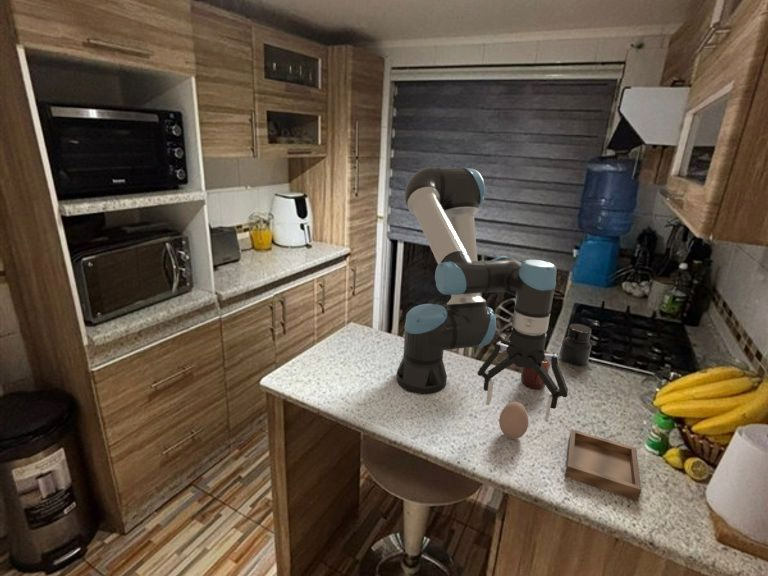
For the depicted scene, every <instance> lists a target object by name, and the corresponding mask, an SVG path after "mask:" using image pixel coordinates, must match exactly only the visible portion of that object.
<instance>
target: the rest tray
mask: <svg viewBox="0 0 768 576" xmlns="http://www.w3.org/2000/svg"><path fill="white" fill-rule="evenodd" d="M637 452H638V451H637V447H634V446H632V445H627V444H623V443H620V442H618V441H613V440H609V439H606V438H603V437H599V436H597V435H592V434H589V433H587V432H582V431H579V430H577V429H573V428H571V429H570V433H569V438H568V444H567V454H566V455H567V456H566V465H565V474H564V477H565V478H567V479H570V480H573V481H576V482H578V483H582V484H584V485H587V486H591V487H594V488H596V489H600V490H602V491H603V490H604V491H606V492H609V493H612V494H614V495H617V496H621V497H623V498H627V499H629V500H633V501H637V502H639V499H640V497H641V493H642V484H641V477H640V467H639V460H638V453H637Z"/></svg>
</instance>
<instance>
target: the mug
mask: <svg viewBox="0 0 768 576" xmlns="http://www.w3.org/2000/svg"><path fill="white" fill-rule="evenodd" d="M544 352H545V353H546V354H552V353H551V352H549V351H547V350H545V349H544ZM541 363H542V364H543V367H544V368H545V370H546V371H547V373H548V374H549V370H550V366H551V364H549V363H548V361H547V360H546V359H544V360H543V361H542V362H541ZM521 368H522V370H521V372H520V373H521V374H520V382H521V384H522V385H523V386H524V387H525V388H527V389H529V390H532V391H540V390H543V389H544V388H545V387H546V385H545V384H544V382H543V381H542V379H541V378H540V376H539V375H538V374H537V373H536V372H535V370H534V369H533V368H532V369H526V368H524V367H521Z"/></svg>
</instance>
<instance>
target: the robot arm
mask: <svg viewBox="0 0 768 576" xmlns="http://www.w3.org/2000/svg"><path fill="white" fill-rule="evenodd" d="M484 181H485V180H484V178H483V176H482V175H481V173H480V172H479V171H478V170H477V169H474V168H467V167H463V166H462V167H461V166H460V167H435V166H433V167H432V166H431V167H430V166H429V167H425V168H422V169H420V170H418V171H416V172H415V173H414V174H413V175H412V176H411V177H410V179H409V180H408V181H407V183H406V187H405V189H404V201H405V204H406V207H407V210H408V211H409V213H411V215H413V216H415V217H416V220H417V223H418V224H419V226H420V228H421V230H422V233H423V235H424V238H425V239H426V241H427V243H428V246H429V248H430V250H431V252H432V253H433V256H434V259H435V261H436V263H437V266H436V269H435V272H434V273H435V274H434V281H435V287H436V289H437V291H439V293H440V294H442V295H450V300H449V301H448V302H447V303H446V307H445V306H443V305H441V304H436V303H434V304H433V303H423V304H419V305H415V306H413V307H412V308H410V309H409V311H407V313H406V316H405V322H404V341H403V356H402V359H401V361H400V363H399V365H398V368H397V370H396V377H395V378H396V383H397V384H398V386H399V387H400V388H402V389H403V390H405V391H407V392H409V393H411V394H412V393H413V394H418V395H431V394H432V395H433V394H437V393H440V392H441V391H442V390H444V389H445V388H446V386H447V381H448V380H447V379H448V377H447V371H446V368H445V367H446V366H445V364H444V363H445V362H444V360H443V358H444V351H448V350H457V349H466V348H467V349H468V348H474V349H475V348H478V347H484V346H487V345H488V344H490V343H491V342H492V340H493V338H494V337H495V334H496V330H497V318H496V314H494V313H495V312H494V310H493V308H491V307H489V306H487V301H486V299H484V297H482V295H481V293H482V294H483V293H485V294H486V293H487V294H488V293H500V292H501V293H504V292H505V293H506V292H507V293H508V294H510V295H511V296H513V297H515V301H514V302H515V304H514V312H513V318H512V327H511V332H510V340H509V344H504V343H503V342H502V341H501V340H497V342H496V344H495V345H494V348H493V351H492V352H491V354H490V355H489V356H488V357H487V359H486V360H485V361H484V362H483V364H482V365H481V366H480V368H479V369H478V371H477V375H478V377H479V376H480V377H482V378H484V381H483V391H485V392H487V395H486V401H485V405H486V406H490V405H491V401H492V399H493V398H492V397H493V390H494V382H495V376H496V375H498V374H499V373H500V372H502V371H504V370H505V369H507V368H508V367H511V366H512V365H515V366H516V367H518V368H523V367H524V368H526V369H532V368H533V369H534V370H535V372H536V373H537V374H538V375H539V376H540V378H541V379H542V381H543V382H544V384H545V387H546V388H547V389H548V391H549V394H548V397H547V398H548V399H547V404H546V409H545V410H546V411H545V416H544V419H543V421H544V422H546V423H547V422H548V421H549V417H550V412H551V409H554V410H555V409H556V408H557V406H558V405H557V404H558V400H559V399H558V398H559V397H563V398H566V397H568V394H569V388H568V386H567V384H566V380H565V377H564V375H563V373H562V370H561V367H560V365H559V354H558V353H557V352H553V353H551V354H546V353H545V352H544V350H545V345H546V340H547V331H548V330H549V329H548V328H549V323H550V316H551V312H552V306H553V305H552V304H553V299H554V295H555V294H554V293H555V288H556V285H557V281H556V280H557V271H558V269H557V266H556V265H555V264H553V263H552V262H550V261H544V260H540V259H526V260H523V261H522V262H521V261H519V260H517V259H516V258H513V257H510V256H506V255H498V256H496V257H494V258H492V259H491V260H478V249H477V238H476V237H477V236H476V226H475V217H476V214H477V213H479V211H480V210H479V207H481V206H482V204H483V203H484V201H485V195H486V186H485V185H486V184H485V182H484ZM504 351H506V352H507V354H508V356H507V357H506V358H505V359H503V360H502V361H500V362H499V363H498V364H496V365H495V366H493V367H492V368H491V369H488V368H489V367H490V366H491V365H492V363H493V362H494V361H495V359H496V358H497V357H498V355H499V353H500V354H502V353H503V352H504ZM544 359H546V360H547V361H548V363H549V364H551V365H550V366H551V370H552V373H553V375H554V378H555V381H556V383H555V382H554V380H553V379H552V377H551V376H550V374H549V372H548V373H547V371H546V370H545V368H544V367H543V364H542V363H541V362H542V361H543V360H544ZM487 369H488V370H487ZM556 384H557V385H556Z"/></svg>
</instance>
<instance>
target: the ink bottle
mask: <svg viewBox="0 0 768 576" xmlns="http://www.w3.org/2000/svg"><path fill="white" fill-rule="evenodd" d="M591 335H592V328H591V327H589V326H587V325H585V324H581V323H571V324H570V325H568V330H567V337H566V336H565V338H563V340H562V343H561V349H560V354H559V358H560V359H561V360H562V361H563V362H565V363H566V364H569V365H573V366H579V367H581V366H582V367H583V366H585V365H587V364H588V363H589V359H590V355H591V350H592V344H591V342H590V339H591Z"/></svg>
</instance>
